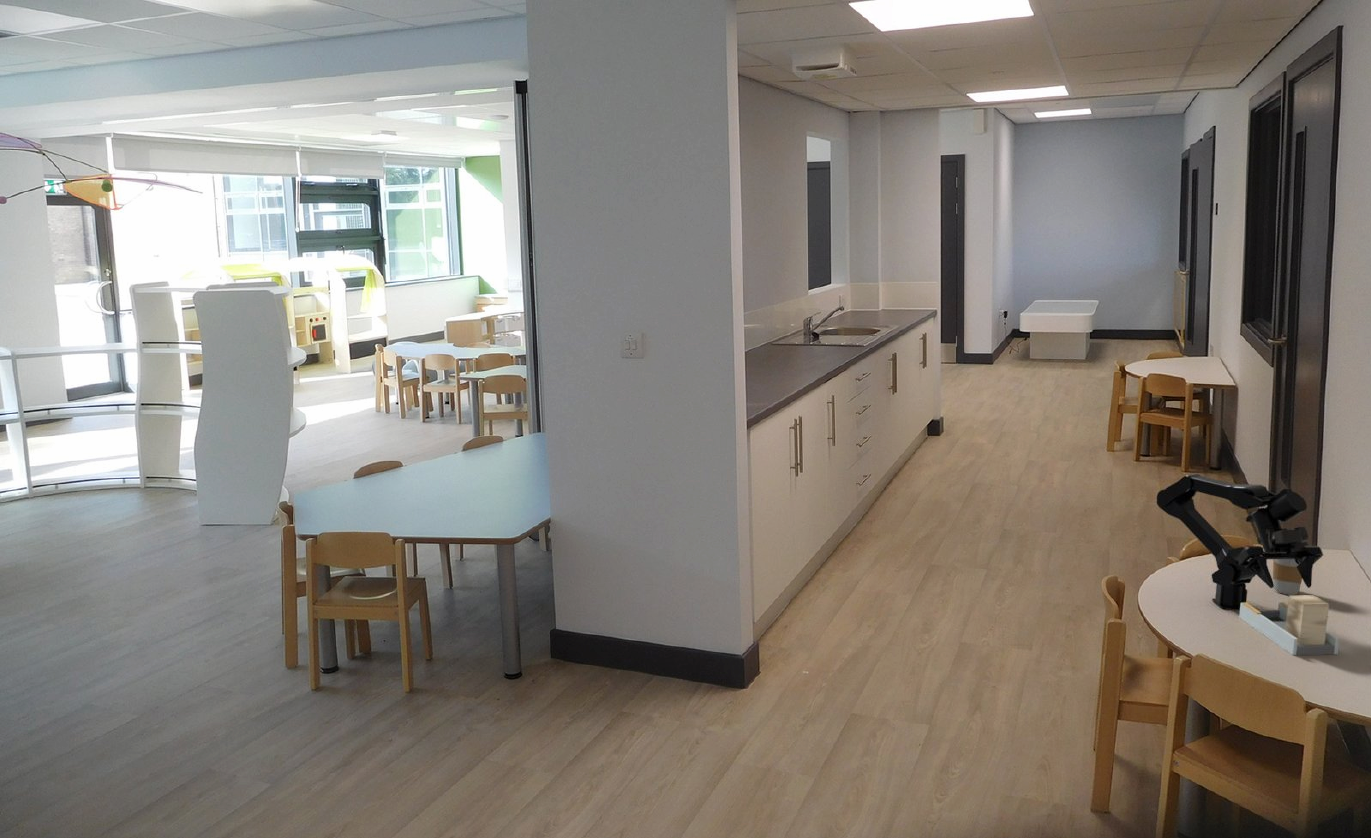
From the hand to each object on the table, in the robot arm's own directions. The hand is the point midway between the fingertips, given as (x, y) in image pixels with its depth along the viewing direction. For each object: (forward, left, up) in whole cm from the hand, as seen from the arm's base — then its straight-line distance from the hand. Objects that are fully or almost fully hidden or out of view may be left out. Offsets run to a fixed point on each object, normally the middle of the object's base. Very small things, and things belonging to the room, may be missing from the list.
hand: (1291, 587), depth 265 cm
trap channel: (0, 0, -12) cm, 12 cm away
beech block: (0, -8, -10) cm, 13 cm away
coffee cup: (+15, +32, -12) cm, 38 cm away
